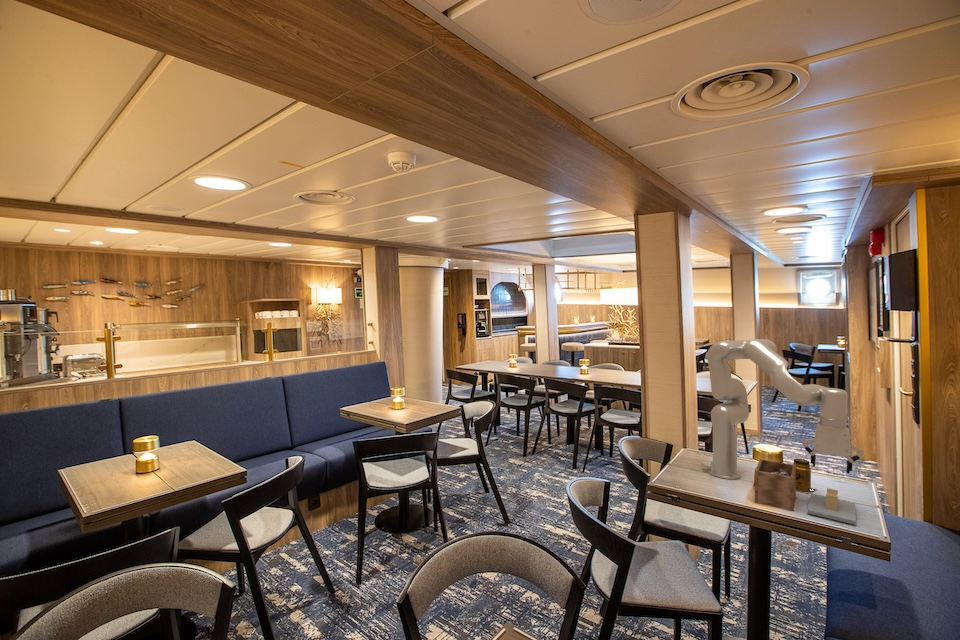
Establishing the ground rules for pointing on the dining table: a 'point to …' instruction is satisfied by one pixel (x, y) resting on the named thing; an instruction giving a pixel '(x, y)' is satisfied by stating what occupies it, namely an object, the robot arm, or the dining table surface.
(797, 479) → the condiment
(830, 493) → the lid
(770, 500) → the box
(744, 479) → the dining table surface
